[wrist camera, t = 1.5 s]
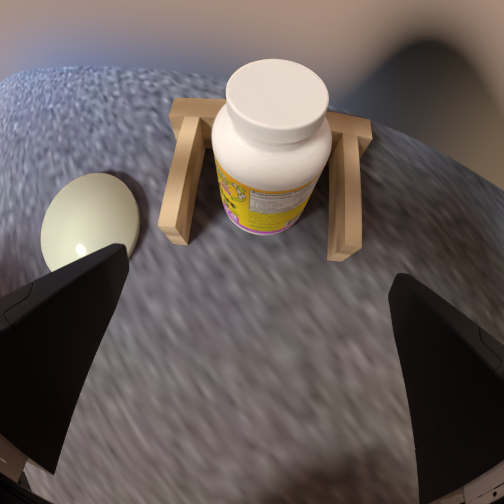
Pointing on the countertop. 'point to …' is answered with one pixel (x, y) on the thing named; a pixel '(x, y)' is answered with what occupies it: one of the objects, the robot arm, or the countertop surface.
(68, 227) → the coaster
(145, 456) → the countertop surface
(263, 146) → the supplement bottle
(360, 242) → the tan u-shaped block
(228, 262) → the countertop surface
